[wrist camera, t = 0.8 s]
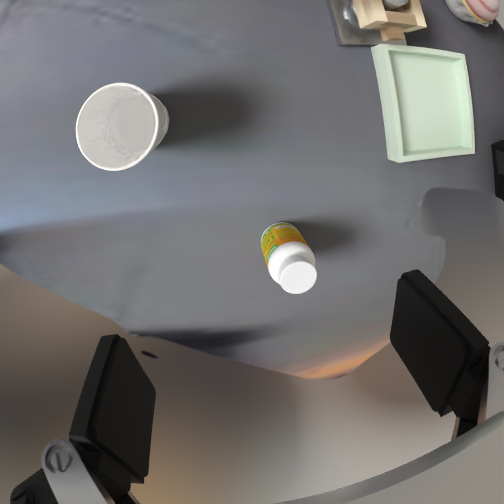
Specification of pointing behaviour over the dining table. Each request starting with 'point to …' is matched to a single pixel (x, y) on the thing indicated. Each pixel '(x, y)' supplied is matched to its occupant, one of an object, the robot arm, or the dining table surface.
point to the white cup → (120, 126)
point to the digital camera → (498, 168)
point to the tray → (424, 102)
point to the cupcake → (474, 10)
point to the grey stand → (357, 24)
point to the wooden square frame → (390, 18)
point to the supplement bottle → (288, 257)
